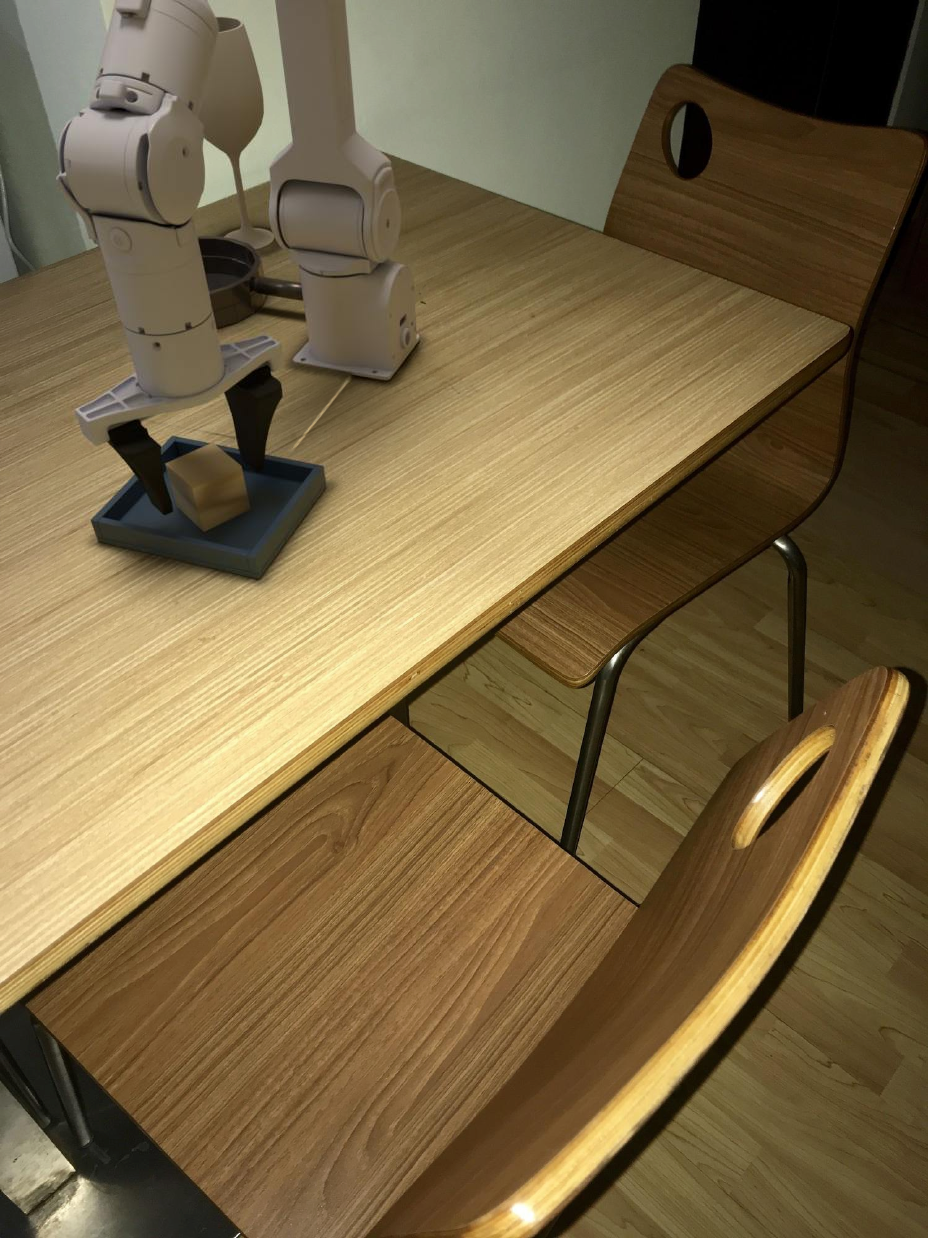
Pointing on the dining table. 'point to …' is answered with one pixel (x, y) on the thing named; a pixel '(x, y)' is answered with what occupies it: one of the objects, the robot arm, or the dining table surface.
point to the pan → (231, 278)
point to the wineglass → (234, 111)
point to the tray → (231, 545)
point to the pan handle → (277, 288)
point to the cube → (208, 486)
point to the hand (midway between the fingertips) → (208, 485)
